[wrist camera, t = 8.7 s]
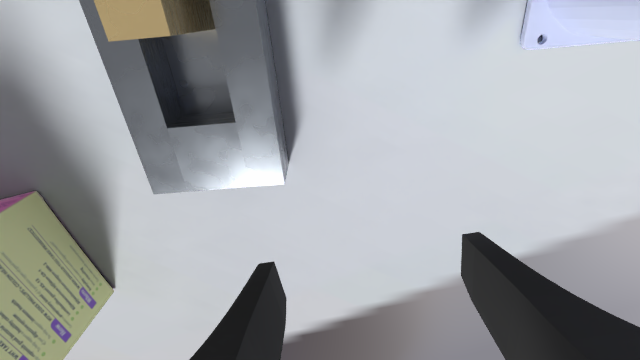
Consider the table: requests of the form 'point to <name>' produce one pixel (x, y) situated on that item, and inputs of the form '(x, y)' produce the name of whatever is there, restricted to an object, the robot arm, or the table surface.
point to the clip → (153, 18)
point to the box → (43, 283)
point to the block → (201, 100)
